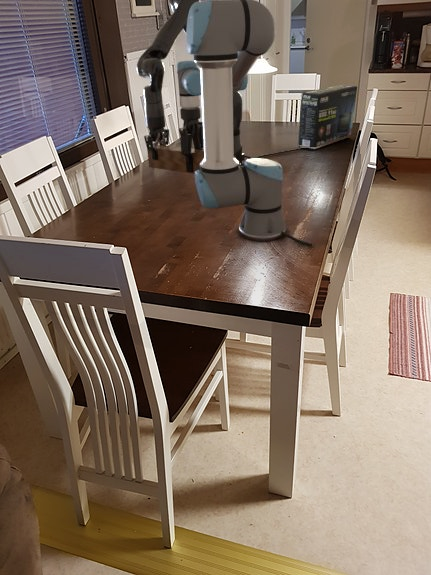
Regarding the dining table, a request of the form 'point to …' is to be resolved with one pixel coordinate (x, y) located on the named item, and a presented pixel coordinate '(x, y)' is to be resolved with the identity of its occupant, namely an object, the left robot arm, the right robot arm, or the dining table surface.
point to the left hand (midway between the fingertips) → (159, 158)
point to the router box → (326, 115)
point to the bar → (174, 159)
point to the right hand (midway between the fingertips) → (193, 169)
